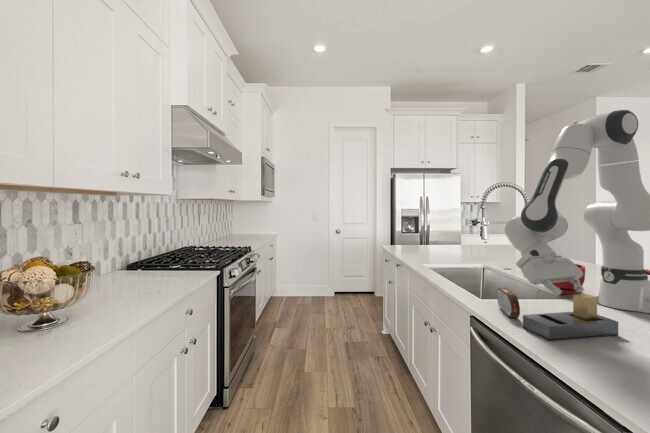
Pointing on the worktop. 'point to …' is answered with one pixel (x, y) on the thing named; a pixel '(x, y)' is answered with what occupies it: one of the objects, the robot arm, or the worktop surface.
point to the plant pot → (567, 285)
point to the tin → (508, 302)
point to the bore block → (568, 326)
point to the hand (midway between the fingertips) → (570, 292)
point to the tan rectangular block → (585, 307)
